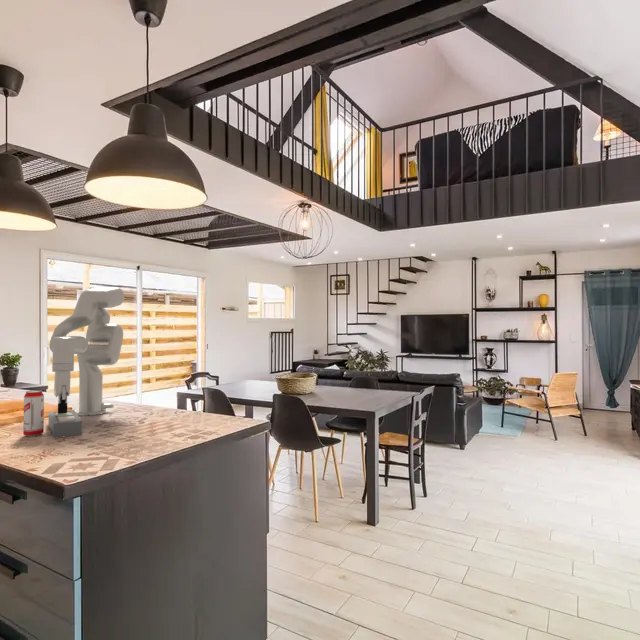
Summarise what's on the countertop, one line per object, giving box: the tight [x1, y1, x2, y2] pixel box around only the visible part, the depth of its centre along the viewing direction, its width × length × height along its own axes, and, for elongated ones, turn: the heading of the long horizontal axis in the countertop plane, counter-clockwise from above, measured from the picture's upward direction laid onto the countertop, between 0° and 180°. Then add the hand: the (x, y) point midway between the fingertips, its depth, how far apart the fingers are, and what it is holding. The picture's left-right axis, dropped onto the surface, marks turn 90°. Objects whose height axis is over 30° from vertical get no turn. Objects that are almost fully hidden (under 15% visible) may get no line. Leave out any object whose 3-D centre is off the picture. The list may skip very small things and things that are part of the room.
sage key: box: [57, 413, 73, 418], centre depth 174 cm, size 5×5×3 cm
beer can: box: [22, 389, 45, 437], centre depth 164 cm, size 6×6×16 cm
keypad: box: [48, 409, 83, 439], centre depth 174 cm, size 9×27×5 cm, turn 34°
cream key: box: [58, 416, 75, 422], centre depth 167 cm, size 5×5×3 cm
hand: (62, 413), depth 180 cm, fingers closed
